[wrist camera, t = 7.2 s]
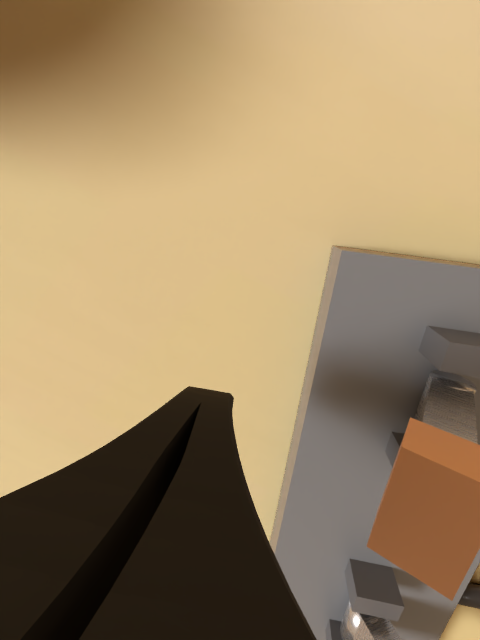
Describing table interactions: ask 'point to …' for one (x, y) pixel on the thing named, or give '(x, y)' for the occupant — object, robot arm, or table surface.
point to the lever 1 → (366, 627)
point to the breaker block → (370, 433)
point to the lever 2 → (434, 489)
